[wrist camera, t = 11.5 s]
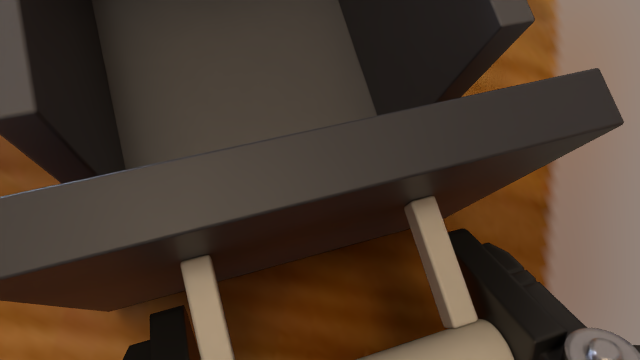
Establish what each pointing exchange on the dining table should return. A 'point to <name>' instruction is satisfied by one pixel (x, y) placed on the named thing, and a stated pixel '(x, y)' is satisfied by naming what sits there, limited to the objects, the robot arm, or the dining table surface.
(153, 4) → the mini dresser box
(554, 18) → the dining table surface
